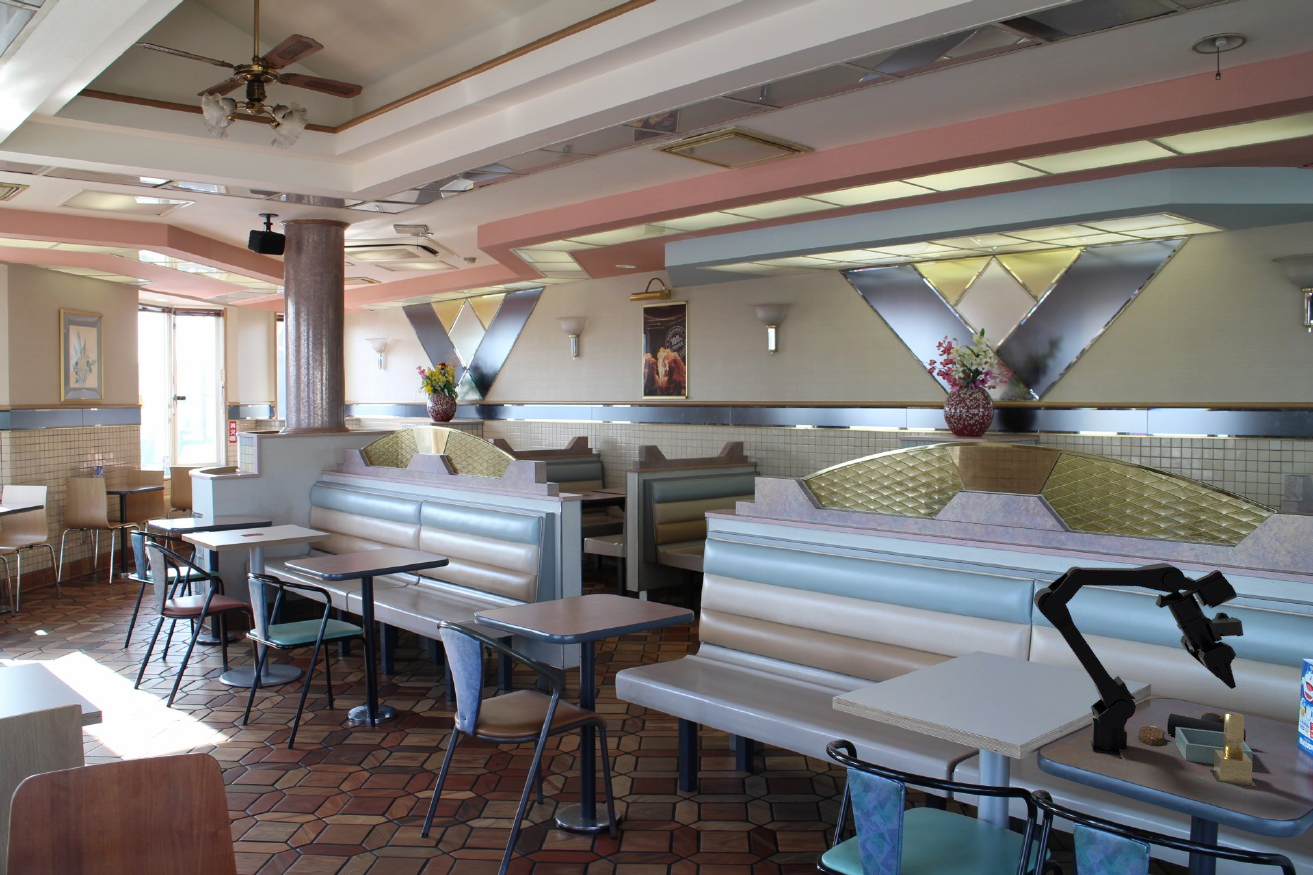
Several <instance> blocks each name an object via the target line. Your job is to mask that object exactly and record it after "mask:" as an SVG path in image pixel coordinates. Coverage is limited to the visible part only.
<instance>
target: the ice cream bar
mask: <svg viewBox="0 0 1313 875" xmlns="http://www.w3.org/2000/svg"><path fill="white" fill-rule="evenodd" d="M1165 733H1166V732H1165V730H1163V729H1162V728H1160V727H1157V726H1156V725H1150V726H1148V725H1143V726H1141V727H1139V730H1138V735H1137V740H1138V741H1139V742H1140V743H1142V744H1143V745H1147V746H1158V745H1163V744H1164V742H1165V741H1166V740H1165V739H1166V738H1165V737H1166V736H1165V735H1166V734H1165Z"/></svg>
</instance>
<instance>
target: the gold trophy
mask: <svg viewBox="0 0 1313 875" xmlns="http://www.w3.org/2000/svg"><path fill="white" fill-rule="evenodd" d="M1224 716H1225V723H1224V751H1221V750H1215V754H1214V764H1213V770H1214V772H1215V774H1216V775H1217V777H1218V778H1219V780H1220V781H1227V782H1235V783H1242V784H1250V785H1252V781H1253V760H1252V761H1251V760H1250V759H1249V757H1248V756H1247V755H1246V753H1243V741H1244V728H1245V715H1244V714H1242V713H1239V712H1235V711H1234V712H1233V711H1227V712H1226V711H1225V712H1224Z"/></svg>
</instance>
